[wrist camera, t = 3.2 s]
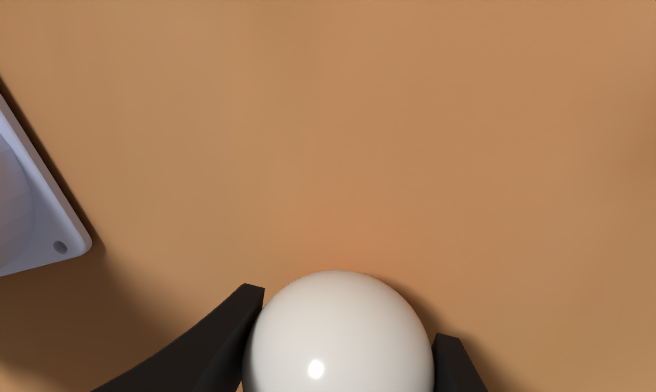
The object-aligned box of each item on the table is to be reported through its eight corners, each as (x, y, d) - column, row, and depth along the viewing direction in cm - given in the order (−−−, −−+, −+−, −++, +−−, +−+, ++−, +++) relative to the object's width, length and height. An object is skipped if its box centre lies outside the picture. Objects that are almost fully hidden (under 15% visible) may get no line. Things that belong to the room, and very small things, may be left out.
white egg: (304, 369, 14) (261, 530, 10) (249, 254, 13) (168, 386, 8) (444, 351, 13) (468, 528, 9) (404, 219, 11) (407, 355, 7)
